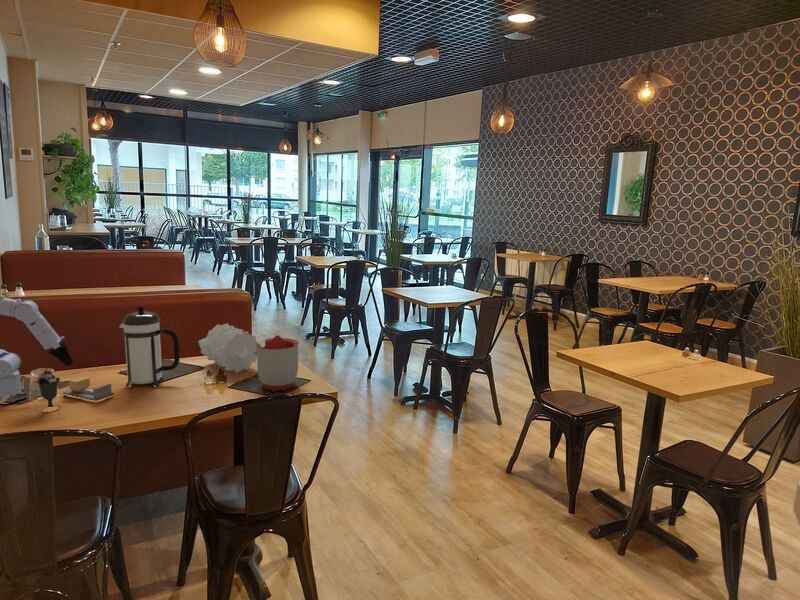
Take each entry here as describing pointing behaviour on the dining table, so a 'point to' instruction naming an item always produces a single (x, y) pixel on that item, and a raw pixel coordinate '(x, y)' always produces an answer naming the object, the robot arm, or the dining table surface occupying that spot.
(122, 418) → the dining table surface
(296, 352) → the citrus juicer
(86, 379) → the sliding carriage
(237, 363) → the white ruffled oval piece
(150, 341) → the coffee press
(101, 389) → the track
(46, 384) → the sundae
